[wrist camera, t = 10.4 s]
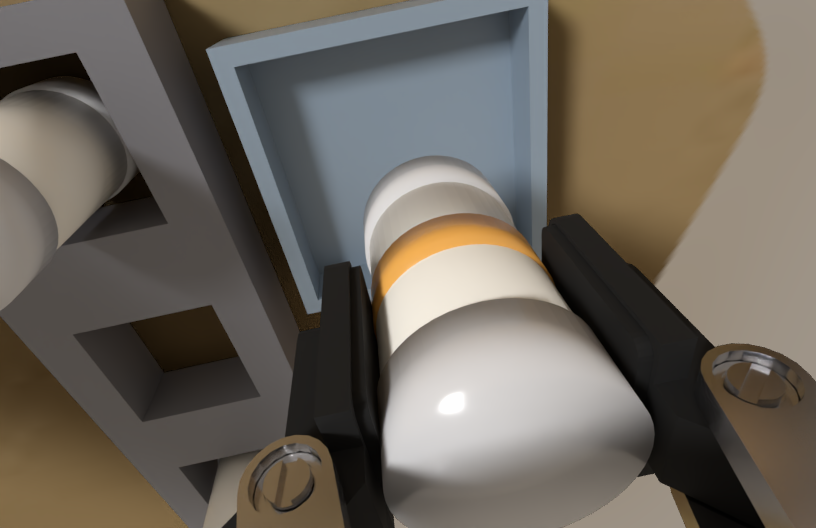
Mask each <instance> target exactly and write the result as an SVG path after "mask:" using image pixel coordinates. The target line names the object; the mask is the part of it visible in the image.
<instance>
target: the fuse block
mask: <svg viewBox="0 0 816 528" xmlns="http://www.w3.org/2000/svg"><path fill="white" fill-rule="evenodd" d="M75 52H76V53H77V54H78V56H79V58H80V60H81V62H82V64H83V66H84V68H85V69H86V71H87V73H88V75H89V77H90V79H91V81H92V82H93V84H94V86H95V88H96V90H97V92H98V94H99V96H100V97H101V99H102V101H103V103H104V105H105V107H106V109H107V110H108V112H109V114H110V116H111V118H112V120H113V122H114V124H115V125H116V127H117V129H118V131H119V133H120V135H121V137H122V139H123V140H124V142H125V144H126V146H127V148H128V150H129V152H130V153H131V155H132V157H133V159H134V161H135V163H136V165H137V167H138V168H139V170H140V172H141V174H142V176H143V178H144V180H145V181H146V183H147V185H148V187H149V189H150V191H151V193H152V195H153V196H152V197H148V198H143V199H138V200H133V201H129V202H124V203H119V204H114V205H110V206H105V207H100V208H99V209H98V210H96V211H95V212H94V213H93V214H92V215H91V216H90V217H89V218H88V219H87V220H86V221H85V222H84V223H83V224H82V225H81V226H80V227H79V228H78V229H77V230H76V231H75V232H74V233H73V234H72V235H71V236H70V237H69V238H68V239H67V240H66V241H65V242H64V243H63V244H62V245H61V246H60V247H59V248H58V249H57V250H56V253H55V255H54V257H53V259H52V260H51V261H50V263H49V264H48V265H47V266H46V267H45V268H44V269H43V270H42V271H41V272H40V273H39V274H38V275H37V276H36V277H35V278H34V279H33V280H32V281H31V282H30V283H29V284H28V285H27V286H26V287H25V288H24V289H23V291H22V292H21V293H20V294H19V295H18V296H17V297H16V298H15V299H14V300H13V301H12V302H11V303H9V304H8V305H7V306H6V307H5V308H4V309H2V310H0V317H1V318H2V319H3V320H4V321H5V322H6V323H7V324H8V325H9V327H10V328H11V329H12V330H13V331H14V332H15V333H16V334H17V336H18V337H19V338H20V339H21V340H22V341H23V342H24V343H25V345H26V346H27V347H28V348H29V349H30V350H31V351H32V352H33V353H34V355H35V356H36V357H37V358H38V359H39V360H40V361H41V362H42V364H43V365H44V366H45V367H46V368H47V369H48V370H49V371H50V372H51V374H52V375H53V376H54V377H55V378H56V379H57V380H58V381H59V383H60V384H61V385H62V386H63V387H64V388H65V389H66V390H67V392H68V393H69V394H70V395H71V396H72V397H73V398H74V399H75V400H76V402H77V403H78V404H79V405H80V406H81V407H82V408H83V409H84V411H85V412H86V413H87V414H88V415H89V416H90V417H91V418H92V419H93V421H94V422H95V423H96V424H97V425H98V426H99V427H100V428H101V430H102V431H103V432H104V433H105V434H106V435H107V436H108V437H109V439H110V440H111V441H112V442H113V443H114V444H115V445H116V446H117V447H118V449H119V450H120V451H121V452H122V453H123V454H124V455H125V456H126V458H127V459H128V460H129V461H130V462H131V463H132V464H133V465H134V466H135V468H136V469H137V470H138V471H139V472H140V473H141V474H142V475H143V477H144V478H145V479H146V480H147V481H148V482H149V483H150V484H151V485H152V487H153V488H154V489H155V490H156V491H157V492H158V493H159V494H160V496H161V497H162V498H163V499H164V500H165V501H166V502H167V503H168V505H169V506H170V507H171V508H172V509H173V510H174V511H175V512H176V513H177V515H178V516H179V517H180V518H181V519H182V520H183V521H184V522H185V524H186V525H187V526H188V527H189V528H203V525H204V521H205V517H206V513H207V509H208V504H209V500H210V496H211V492H212V488H213V484H214V480H215V476H216V472H217V468H218V459H219V458H224V457H228V456H233V455H237V454H242V453H247V452H251V451H256V450H260V449H264V448H265V447H266V446H268V445H269V444H271V443H273V442H275V441H277V440H279V439H281V438H284V437H285V432H286V424H287V416H288V408H289V400H290V392H291V385H292V377H293V369H294V361H295V353H296V345H297V338H298V334H299V333H300V331H299V329H298V326H297V324H296V321H295V319H294V316H293V314H292V312H291V309H290V307H289V304H288V302H287V299H286V297H285V295H284V292H283V290H282V287H281V285H280V282H279V280H278V278H277V275H276V273H275V270H274V268H273V265H272V263H271V260H270V258H269V256H268V253H267V251H266V248H265V246H264V243H263V241H262V239H261V236H260V234H259V231H258V229H257V226H256V224H255V221H254V219H253V217H252V214H251V212H250V209H249V207H248V204H247V202H246V200H245V197H244V195H243V192H242V190H241V187H240V185H239V183H238V180H237V178H236V175H235V173H234V170H233V168H232V165H231V163H230V161H229V158H228V156H227V153H226V151H225V148H224V146H223V144H222V141H221V139H220V136H219V134H218V131H217V129H216V127H215V124H214V122H213V119H212V117H211V114H210V112H209V109H208V107H207V105H206V102H205V100H204V97H203V95H202V92H201V90H200V88H199V85H198V83H197V80H196V78H195V75H194V73H193V71H192V68H191V66H190V63H189V61H188V58H187V56H186V53H185V51H184V49H183V46H182V44H181V41H180V39H179V36H178V34H177V32H176V29H175V27H174V24H173V22H172V19H171V17H170V15H169V12H168V10H167V7H166V5H165V2H164V0H33V1H28V2H23V3H18V4H13V5H8V6H3V7H0V68H2V67H7V66H12V65H16V64H21V63H26V62H31V61H36V60H41V59H46V58H51V57H55V56H60V55H65V54H70V53H75ZM208 305H212V307H213V308H214V310H215V312H216V314H217V316H218V318H219V320H220V322H221V323H222V325H223V327H224V329H225V331H226V333H227V335H228V336H229V338H230V340H231V342H232V344H233V346H234V348H235V350H236V351H237V353H238V355H239V356H238V357H234V358H229V359H225V360H220V361H215V362H211V363H206V364H201V365H197V366H192V367H188V368H183V369H178V370H174V371H169V372H163V371H162V369H161V368H160V366H159V365H158V363H157V362H156V360H155V359H154V357H153V356H152V355H151V353H150V352H149V350H148V349H147V347H146V346H145V344H144V343H143V342H142V340H141V339H140V337H139V336H138V334H137V333H136V331H135V330H134V328H133V327H132V326H131V324H130V323H129V322H134V321H138V320H143V319H148V318H152V317H157V316H162V315H166V314H171V313H176V312H180V311H185V310H190V309H194V308H199V307H204V306H208Z"/></svg>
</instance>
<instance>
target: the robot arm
mask: <svg viewBox="0 0 816 528" xmlns="http://www.w3.org/2000/svg"><path fill="white" fill-rule="evenodd" d="M541 238H542V263H543V265H544V266H545V268H546V269H547V271H548V272H549V274H550V275H551V277H552V279H553V281H554V283H555V286H556V289H557V290H558V292H559V293H560V295H561V296H562V298H563V299H564V301H565V302H566V303H567V305H568V306H569V308H570V309H571V311H572V312H573V313H574V314H576V315H577V316H578V317H580V318H581V319H582V320H583V321H584V322H585V323H586V324H587V325H588V326H589V327H590V328H591V330H592V331H593V332H594V334H595V335H596V337H597V338H598V340H599V341H600V343H601V344H602V345H603V347H604V348H605V350H606V351H607V353H608V354H609V356H610V357H611V358H612V360H613V361H614V363H615V364H616V366H617V367H618V369H619V370H620V371H621V373H622V374H623V376H624V377H625V379H626V380H627V382H628V383H629V384H630V386H631V387H632V389H633V390H634V392H635V393H636V395H637V396H638V397H639V399H640V400H641V402H642V403H643V405H644V406H645V408H646V409H647V411H648V412H649V414H650V416H651V419H652V421H653V424H654V433H655V436H654V444H653V448H652V451H651V454H650V457H649V459H648V461H647V463H646V464H645V466H644V468H643V469H642V471H641V472H640V473H639V475H638V476H637V477H640V476H644V475H649V474H654V473H655V475H656V476H657V478H658V480H659V481H660V482H661V483H663V484H665V485H667V486H669V487H670V489H671V493H672V495H673V498H674V500H675V503H676V505H677V507H678V510H679V512H680V515H681V517H682V519H683V522H684V524H685V527H686V528H816V381H815V380H814V379H813V378H812V376H811V375H810V374H809V373H808V372H807V371H805V370H804V369H803V368H802V367H801V366H800V365H799V364H798V363H796V362H794V361H793V360H791V359H789V358H788V357H786V356H784V355H783V354H780V353H778V352H775V351H772V350H770V349H767V348H764V347H760V346H755V345H750V344H733V343H731V344H726V345H721V346H717V347H714V346H713V345H712V344H711V343H710V342H709V341H708V340H707V339H706V338H705V337H704V336H703V335H702V334H701V333H700V331H699V330H698V329H696V327H695V326H693V324H691V322H690V321H689V320H688V319H687V318H686V317H685V316H684V315H683V314H682V313H681V312H680V311H679V310H678V309H677V308H676V307H675V306H674V305H673V304H672V303H671V302H670V301H669V300H668V299H667V298H666V297H665V296H664V295H663V294H662V293H661V292H660V291H659V290H658V289H657V288H656V287H655V286H654V285H653V284H652V283H651V282H650V281H649V280H648V279H647V278H646V277H645V276H644V275H643V274H642V273H641V272H640V271H639V270H638V269H637V268H636V267H635V266H633V265H632V264H628V263H626V262H625V261H624V260H623V259H622V258H621V257H620V256H619V255H618V254H617V253H616V252H615V251H614V250H613V249H612V248H611V247H610V246H609V244H608V243H607V242H606V241H605V240H604V239H603V238H602V237H601V236H600V235H599V234H598V233H597V232H596V231H595V230H594V229H593V228H592V227H591V226H590V225H589V224H588V223H587V222H586V221H585V220H584V219H583V218H582V217H581V216H580V215H579V214H572V215H567V216H562V217H557V218H553V219H551V220H550V222H549V226H546V227H543V228H542V234H541ZM379 378H380V369H379V358H378V346H377V340H376V337H375V333H374V327H373V315H372V304H371V301H370V297H369V293H368V290H367V286H366V282H365V279H364V275H363V272H362V268H361V266H360V265H359V266H355V267H352V265H351V263H350V261H346V262H342V263H337V264H332V265H327V266H325V267H324V275H323V289H322V304H321V318H320V328H315V329H310V330H306V331H301V332H300V333H299V334H298V338H297V345H296V353H295V361H294V369H293V377H292V385H291V392H290V400H289V408H288V416H287V424H286V432H285V437H284V438H281V439H279V440H277V441H275V442H273V443H271V444H269V445H268V446H266V447H265V448H264V449H263V450H262V451H260V452H259V453H258V454H257V455H256V456H255V457H254V458H253V459H252V461H251V462H250V463H249V464H248V466H247V467H246V469H245V471H244V473H243V475H242V477H241V479H240V482H239V487H238V493H237V512H236V513H235V514H234V515H233V516H232V517H231V518H230V519H229V520H228V521H227V522H226V523H225V524H224V525H223V527H222V528H395V527H394V516H393V514H392V513H391V511H390V510H389V508H388V506H387V504H386V501H385V497H384V493H383V481H382V468H381V441H380V428H379V415H378V402H377V387H378V381H379Z"/></svg>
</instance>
